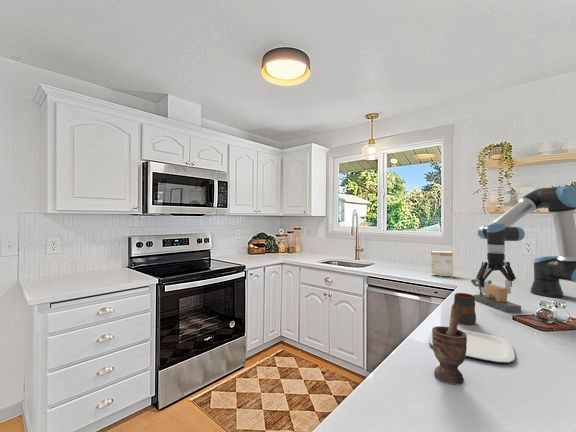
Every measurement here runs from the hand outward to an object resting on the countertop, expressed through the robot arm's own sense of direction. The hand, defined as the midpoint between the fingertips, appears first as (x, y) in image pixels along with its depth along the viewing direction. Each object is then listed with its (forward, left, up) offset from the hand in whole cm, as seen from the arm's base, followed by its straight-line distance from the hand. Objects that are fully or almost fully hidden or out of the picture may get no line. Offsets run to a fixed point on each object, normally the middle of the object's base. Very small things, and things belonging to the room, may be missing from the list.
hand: (495, 293), depth 156 cm
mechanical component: (-5, -17, -7) cm, 19 cm away
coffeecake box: (-21, -81, -7) cm, 84 cm away
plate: (+48, +46, -7) cm, 67 cm away
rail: (0, 0, -7) cm, 7 cm away
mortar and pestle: (+68, +65, -7) cm, 94 cm away
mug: (+32, +21, -7) cm, 39 cm away
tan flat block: (0, 0, -7) cm, 7 cm away
